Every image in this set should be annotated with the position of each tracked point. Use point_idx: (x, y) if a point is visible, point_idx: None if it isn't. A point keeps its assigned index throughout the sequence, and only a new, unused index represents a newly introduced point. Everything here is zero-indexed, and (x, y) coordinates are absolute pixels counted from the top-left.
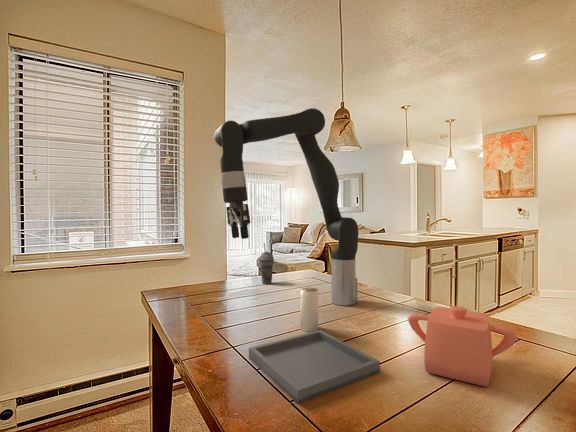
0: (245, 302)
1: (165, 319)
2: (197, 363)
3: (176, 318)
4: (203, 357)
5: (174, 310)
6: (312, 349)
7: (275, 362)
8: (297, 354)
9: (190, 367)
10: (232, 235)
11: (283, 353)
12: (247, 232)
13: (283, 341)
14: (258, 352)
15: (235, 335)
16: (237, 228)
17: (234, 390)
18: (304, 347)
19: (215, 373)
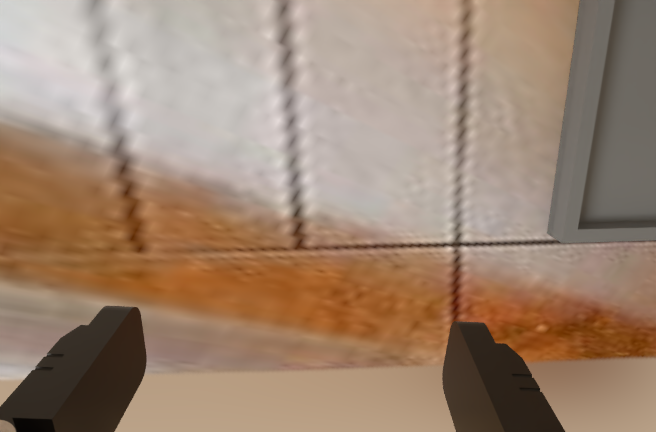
0: (10, 15)
1: None
2: None
3: None
4: None
5: (21, 320)
6: (649, 58)
7: (635, 195)
8: (641, 119)
9: None
10: (128, 395)
11: (609, 151)
12: (535, 383)
13: (592, 134)
14: (604, 232)
15: (384, 209)
16: (79, 400)
17: (648, 310)
18: (622, 73)
19: (561, 322)
